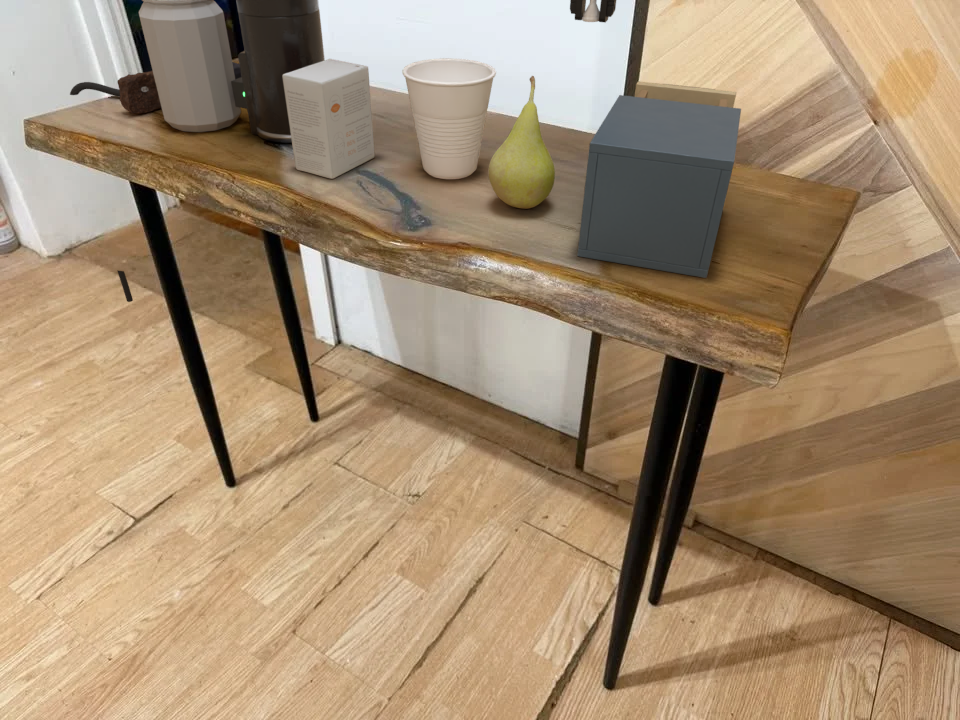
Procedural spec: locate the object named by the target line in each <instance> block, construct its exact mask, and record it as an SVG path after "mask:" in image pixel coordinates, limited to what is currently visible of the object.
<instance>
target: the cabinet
mask: <svg viewBox="0 0 960 720" xmlns="http://www.w3.org/2000/svg"><path fill="white" fill-rule="evenodd" d="M741 113H742V108H739V107H733V108H731V107H722V106H713V105H704V104H695V103H686V102H677V101H668V100H659V99H650V98H641V97H635V96H632V95H624V94H620V95H618V97H617V98H616V100H615V101H614V103H613V105H612V106H611V108H610V110H609V112H608V113H607V114H606V116H605V118H604V119H603V121H602V122H601V124H600V126H599V128H598V129H597V131H596V132H595V133H594V136H593V137H592V139H591V140H590V142H589V146H588V155H587V163H586V164H587V165H586V173H585V174H586V175H585V183H584V191H583V201H582V209H581V217H580V218H581V220H580V227H579V236H578V237H579V238H578V246H577V247H578V248H577V255H576V256H577V257H580V258H586V259H592V260H597V261H602V262H603V261H604V262H610V263H616V264H621V265H626V266H634V267H639V268H645V269H651V270H657V271H662V272H668V273H673V274H678V275H679V274H680V275H684V276H685V275H686V276H691V277H698V278H703V279H707V278H708V274H709V270H710V265H711V261H712V257H713V253H714V249H715V244H716V240H717V236H718V232H719V228H720V225H721V224H720V223H721V219H722V217H723V216H722V215H723V211H724V208H725V202H726V199H727V194H728V190H729V186H730V181H731V178H732V173H733V169H734V165H735V159H736V152H737V144H738V136H739V129H740V121H741Z"/></svg>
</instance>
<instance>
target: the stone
mask: <svg viewBox="0 0 960 720" xmlns="http://www.w3.org/2000/svg"><path fill="white" fill-rule="evenodd" d="M117 85H118V89H119V92H120V97H119V102H120V104H121V106H122V107H123V109H125V111H127V112H129V113H131V114H143V113H149V112H154V111H155V110H159V109H162V107H161V103H160V99H159V95H158V91H157V86H156V82H155V78H154V74H153V70H150V71H145V72H137V73H135V74H130V73H128V74H127V75H125V76H121V77H120V78H119V79H117Z"/></svg>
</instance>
